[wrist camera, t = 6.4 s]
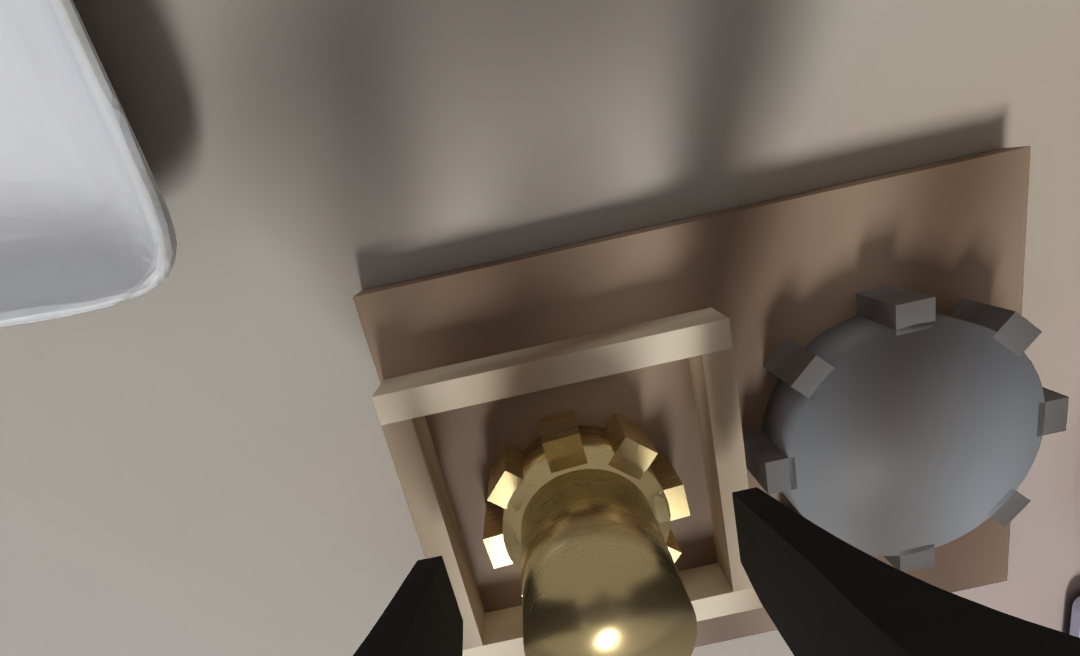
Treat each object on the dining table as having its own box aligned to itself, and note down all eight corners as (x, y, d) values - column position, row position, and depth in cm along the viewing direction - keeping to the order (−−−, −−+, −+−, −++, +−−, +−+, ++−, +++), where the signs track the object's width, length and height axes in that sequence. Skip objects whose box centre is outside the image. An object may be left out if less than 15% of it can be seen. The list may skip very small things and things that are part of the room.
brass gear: (650, 386, 14) (720, 487, 10) (688, 545, 16) (764, 701, 11) (461, 439, 14) (436, 565, 10) (516, 591, 16) (518, 765, 11)
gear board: (1001, 148, 14) (1094, 141, 12) (985, 563, 18) (1053, 617, 15) (361, 291, 14) (333, 310, 12) (483, 670, 18) (478, 739, 16)
